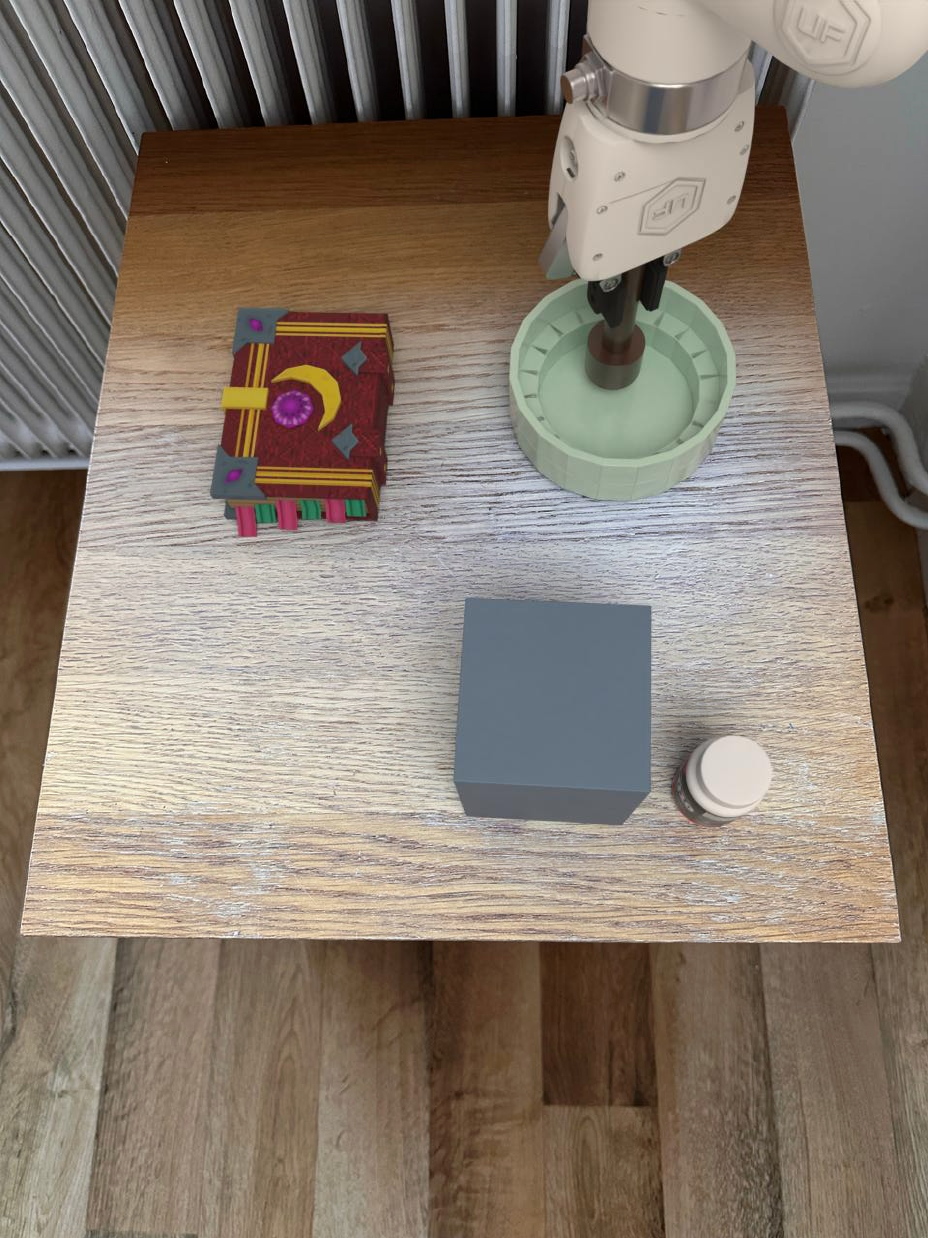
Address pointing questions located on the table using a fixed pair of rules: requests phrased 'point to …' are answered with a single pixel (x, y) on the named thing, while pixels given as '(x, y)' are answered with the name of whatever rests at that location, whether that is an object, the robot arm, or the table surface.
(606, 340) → the brown wooden handle
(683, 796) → the pill bottle
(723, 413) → the bowl
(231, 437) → the decorative book
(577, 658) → the stand
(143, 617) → the table surface
